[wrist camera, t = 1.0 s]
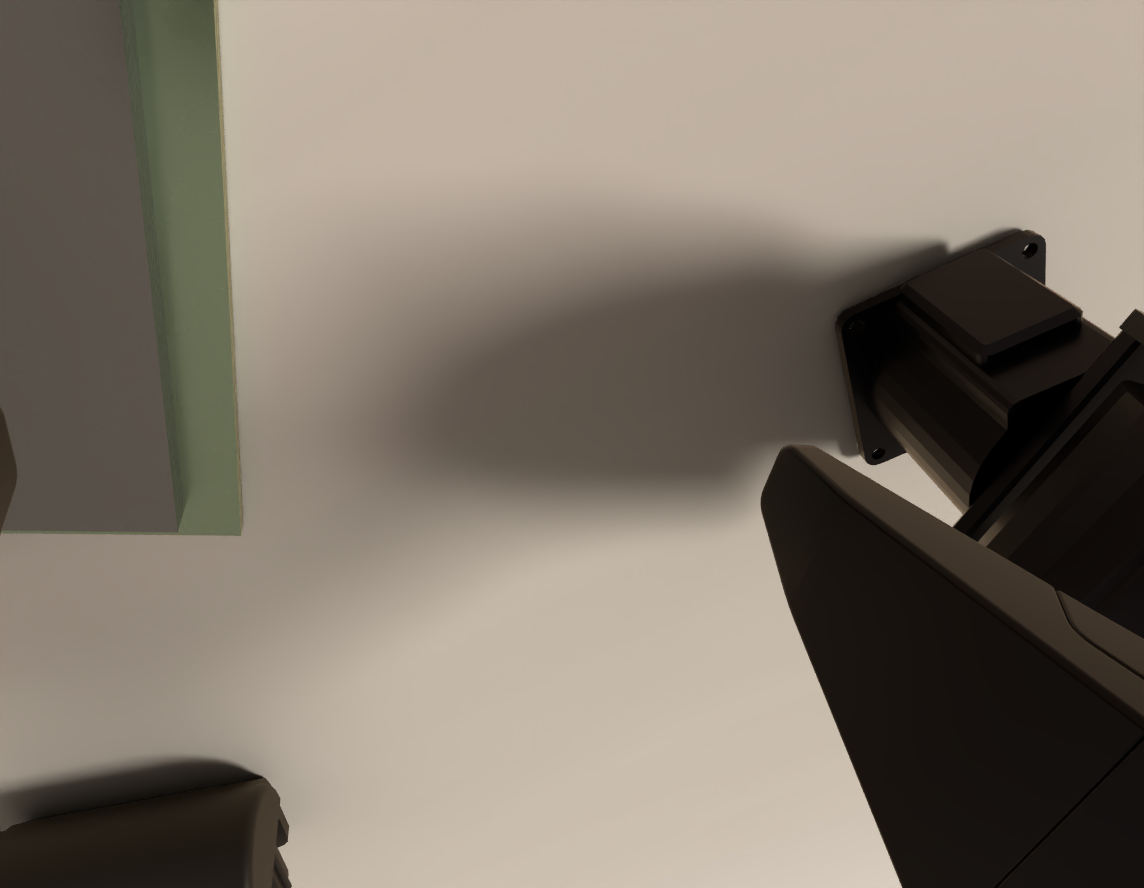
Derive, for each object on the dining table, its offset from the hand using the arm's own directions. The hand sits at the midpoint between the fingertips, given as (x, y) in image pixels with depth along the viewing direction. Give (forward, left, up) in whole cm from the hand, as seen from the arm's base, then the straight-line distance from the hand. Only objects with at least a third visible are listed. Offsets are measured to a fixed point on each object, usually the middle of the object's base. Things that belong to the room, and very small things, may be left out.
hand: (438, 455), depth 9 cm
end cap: (-19, +22, -12) cm, 31 cm away
